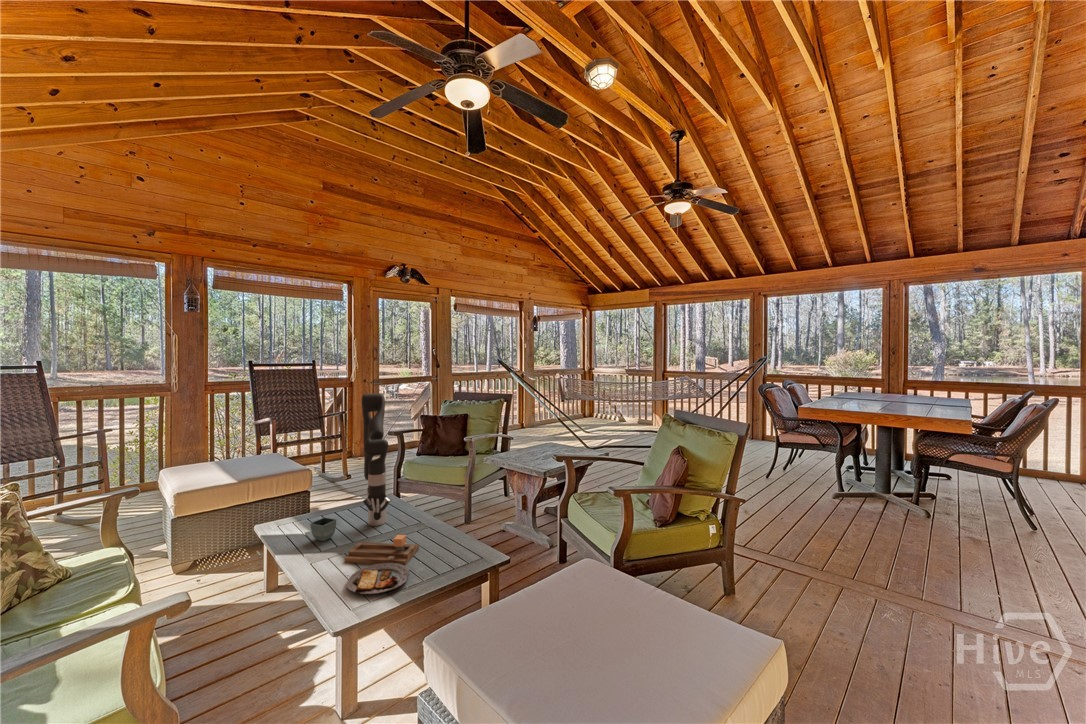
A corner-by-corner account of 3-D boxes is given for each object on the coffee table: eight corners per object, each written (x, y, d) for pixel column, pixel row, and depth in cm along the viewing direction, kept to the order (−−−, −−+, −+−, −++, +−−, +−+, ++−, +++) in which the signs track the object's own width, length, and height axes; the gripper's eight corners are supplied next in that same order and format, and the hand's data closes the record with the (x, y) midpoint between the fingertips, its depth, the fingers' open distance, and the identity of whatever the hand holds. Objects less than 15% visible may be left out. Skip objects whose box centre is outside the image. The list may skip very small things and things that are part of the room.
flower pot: (309, 541, 219) (309, 523, 219) (324, 534, 227) (324, 517, 227) (322, 544, 216) (322, 526, 216) (337, 536, 224) (337, 519, 224)
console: (363, 546, 213) (362, 539, 213) (418, 548, 210) (418, 541, 210) (344, 562, 197) (344, 554, 197) (404, 565, 194) (404, 557, 194)
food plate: (403, 595, 170) (403, 586, 170) (339, 602, 167) (339, 593, 167) (412, 566, 195) (412, 558, 195) (356, 571, 191) (356, 563, 191)
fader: (398, 549, 205) (397, 534, 205) (406, 549, 205) (406, 535, 205) (393, 553, 201) (393, 538, 200) (402, 554, 200) (401, 539, 200)
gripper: (394, 480, 206) (394, 516, 207) (367, 479, 207) (367, 515, 208) (387, 485, 198) (387, 523, 199) (359, 484, 200) (359, 522, 200)
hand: (377, 519), depth 204 cm, fingers closed
